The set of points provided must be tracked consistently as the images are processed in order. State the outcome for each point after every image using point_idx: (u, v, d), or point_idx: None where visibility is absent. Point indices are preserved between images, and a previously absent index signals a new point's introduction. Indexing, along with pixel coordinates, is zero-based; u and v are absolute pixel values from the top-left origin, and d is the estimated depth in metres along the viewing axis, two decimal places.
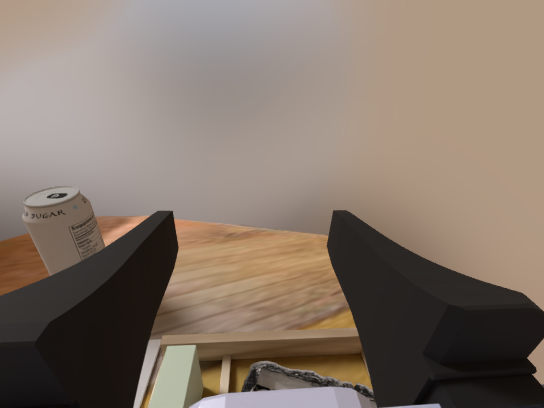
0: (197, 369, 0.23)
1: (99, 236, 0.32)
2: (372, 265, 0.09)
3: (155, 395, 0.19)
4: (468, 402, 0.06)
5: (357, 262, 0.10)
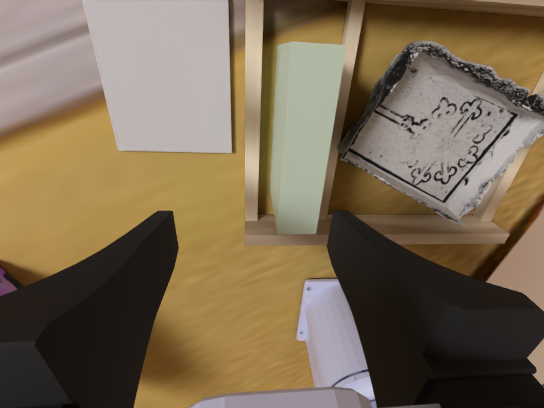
0: None
1: None
2: (372, 265, 0.09)
3: (289, 132, 0.13)
4: (468, 402, 0.06)
5: (356, 262, 0.10)
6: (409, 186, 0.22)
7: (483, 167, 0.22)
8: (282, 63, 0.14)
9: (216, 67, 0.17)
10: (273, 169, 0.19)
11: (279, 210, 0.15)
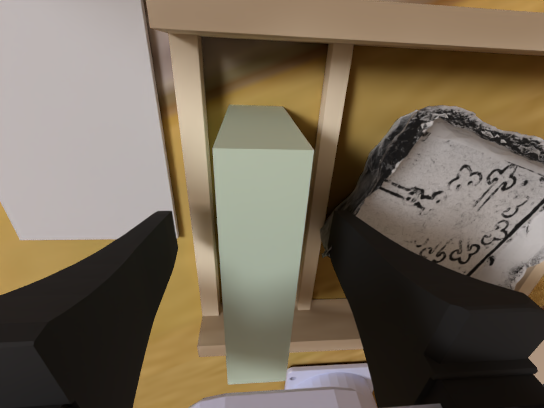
0: None
1: None
2: (373, 265, 0.09)
3: (228, 272, 0.08)
4: (469, 402, 0.06)
5: (357, 262, 0.10)
6: None
7: (514, 246, 0.16)
8: None
9: (142, 136, 0.12)
10: None
11: (227, 359, 0.10)
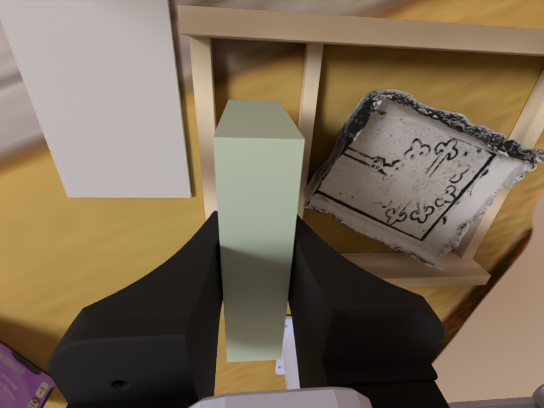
0: None
1: None
2: (300, 267, 0.08)
3: (227, 253, 0.09)
4: None
5: (292, 264, 0.10)
6: (384, 226, 0.21)
7: (461, 207, 0.20)
8: None
9: (166, 113, 0.16)
10: None
11: (227, 337, 0.11)
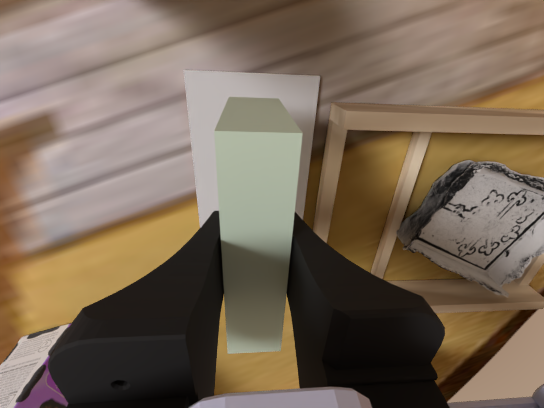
0: None
1: None
2: (300, 267, 0.08)
3: (227, 245, 0.09)
4: None
5: (292, 264, 0.09)
6: (455, 258, 0.24)
7: (524, 243, 0.24)
8: None
9: None
10: None
11: (227, 328, 0.11)
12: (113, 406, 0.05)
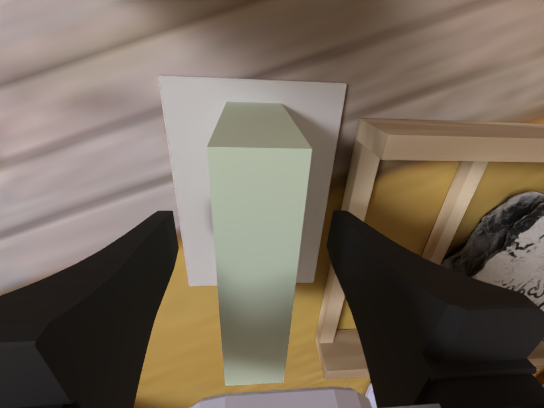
0: None
1: None
2: (372, 265, 0.09)
3: (224, 274, 0.08)
4: (468, 402, 0.06)
5: (357, 262, 0.10)
6: None
7: None
8: None
9: (311, 209, 0.15)
10: None
11: (224, 360, 0.10)
12: None
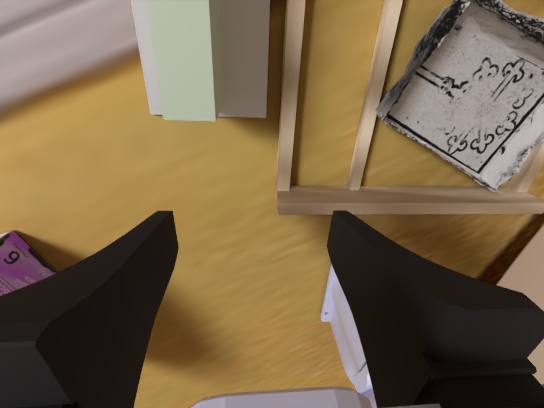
0: None
1: None
2: (372, 265, 0.09)
3: None
4: (468, 402, 0.06)
5: (357, 262, 0.10)
6: (444, 155, 0.22)
7: (521, 134, 0.21)
8: None
9: (255, 23, 0.16)
10: None
11: (159, 80, 0.12)
12: None
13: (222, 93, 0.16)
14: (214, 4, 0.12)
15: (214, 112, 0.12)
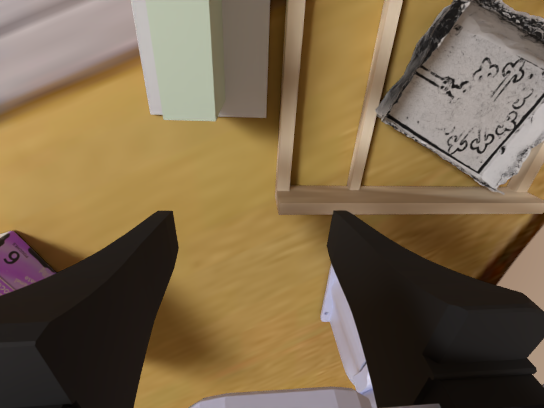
0: None
1: None
2: (372, 265, 0.09)
3: None
4: (468, 402, 0.06)
5: (357, 262, 0.10)
6: (444, 155, 0.22)
7: (521, 134, 0.21)
8: None
9: (255, 23, 0.16)
10: None
11: (159, 80, 0.12)
12: None
13: (222, 93, 0.16)
14: (214, 4, 0.12)
15: (214, 112, 0.12)
